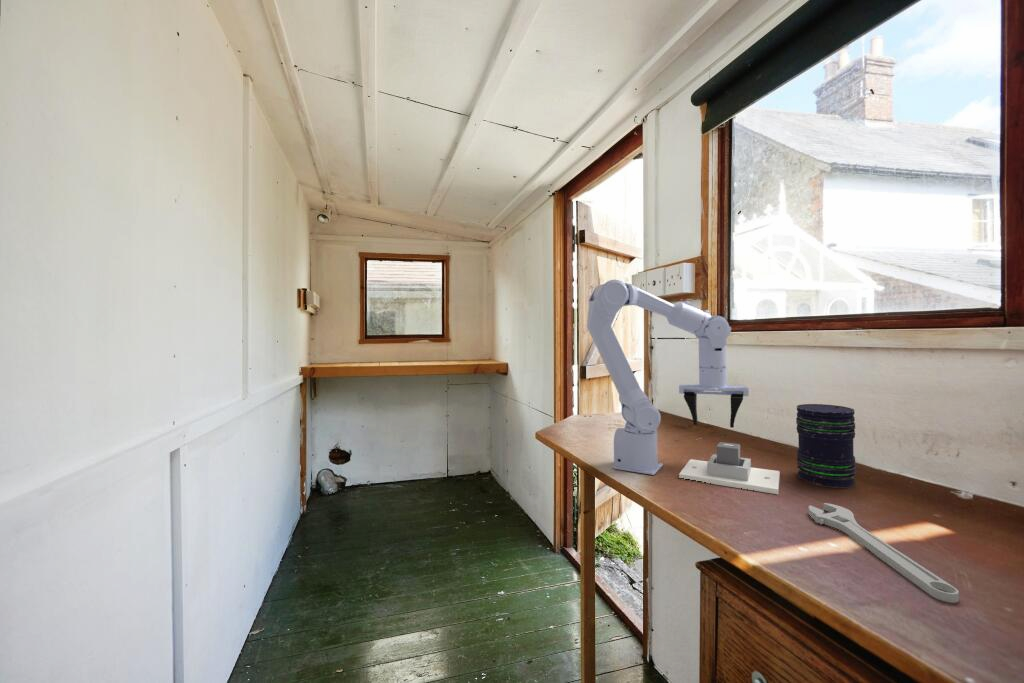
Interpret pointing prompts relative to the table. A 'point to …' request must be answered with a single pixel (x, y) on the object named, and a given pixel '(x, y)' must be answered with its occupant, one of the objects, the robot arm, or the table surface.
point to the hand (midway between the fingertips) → (713, 425)
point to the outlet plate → (732, 475)
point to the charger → (728, 453)
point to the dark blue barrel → (826, 445)
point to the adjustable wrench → (885, 552)
